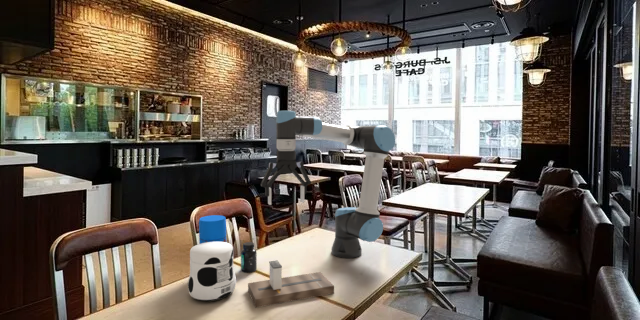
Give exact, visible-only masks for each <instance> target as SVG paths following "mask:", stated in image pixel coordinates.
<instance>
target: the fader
mask: <svg viewBox="0 0 640 320" xmlns="http://www.w3.org/2000/svg"><path fill="white" fill-rule="evenodd" d="M268 262H269V280H270V285H271V286H272V288H273V290H276V289H282V278H283V275H282V272H283V271H282V270H283V269H282V268H283V266H282V264H281V263H280V262H279V261H278V260H277V259H276V260H270V261H268Z"/></svg>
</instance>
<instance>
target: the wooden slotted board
mask: <svg viewBox="0 0 640 320" xmlns="http://www.w3.org/2000/svg"><path fill="white" fill-rule="evenodd" d="M247 291H248V293H249V295H250V298H251V300H252V303H253V305H254V307H255V308H260V307H266V306H272V305H277V304H282V303H288V302H292V301H293V302H294V301H299V300H305V299H309V298H310V299H311V298H315V297H321V296H326V295H333V294H335V284H333V283H332V282H331V281H330V280H329V279H328V278H327V277H326V276H325V275H324V274H323V273H322V272H321V271H318V272H312V273H311V272H310V273H304V274H299V275H298V274H297V275H292V276H285V277H282V289H276V290H273V288H272V286H271V285H270V279H266V280H259V281H253V282H249V283H247Z"/></svg>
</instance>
